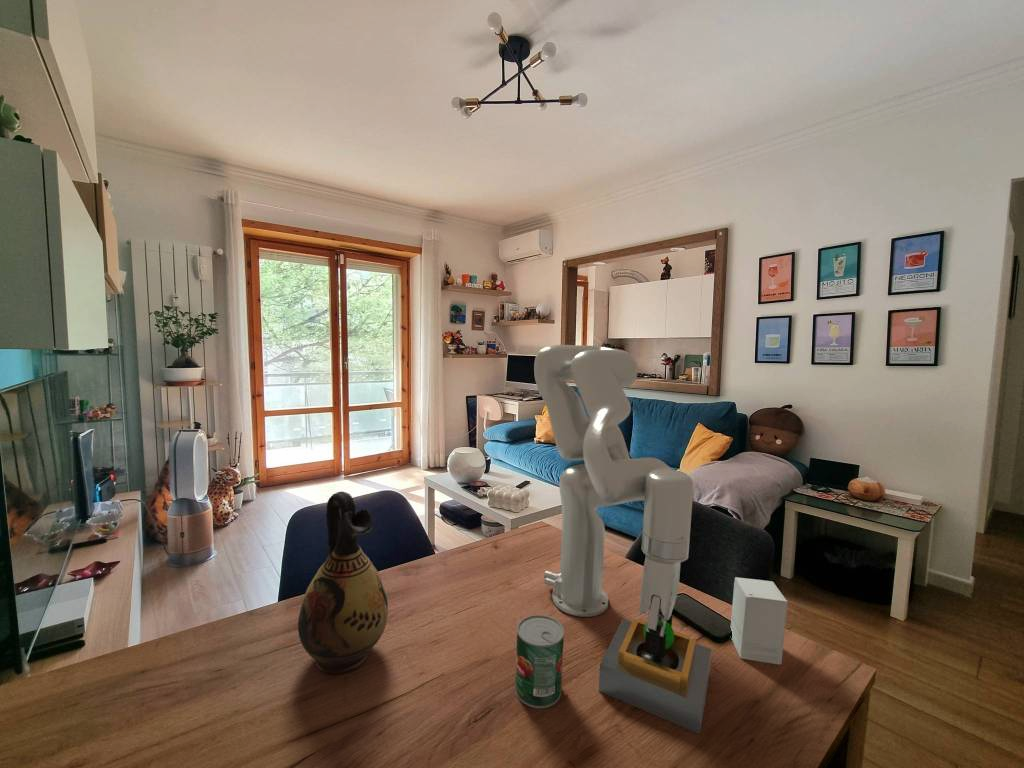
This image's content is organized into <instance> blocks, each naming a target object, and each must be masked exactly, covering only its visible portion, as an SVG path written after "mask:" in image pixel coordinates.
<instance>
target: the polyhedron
mask: <svg viewBox="0 0 1024 768" xmlns="http://www.w3.org/2000/svg"><path fill="white" fill-rule="evenodd" d="M661 622H662V620H658V625H660V627H661ZM672 627H673V626H672ZM672 627H671V625H670V624H669V623H668V622H666V624H665V633H664V634H666V646H665V649H668V648H670V646H671V645H672V643H673V641H674V631H675V630H674V629H673V628H672ZM646 628H647V623H646V624H645V626H644V636H646Z"/></svg>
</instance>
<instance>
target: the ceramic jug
mask: <svg viewBox="0 0 1024 768" xmlns="http://www.w3.org/2000/svg"><path fill="white" fill-rule="evenodd" d="M356 509H357V508H356V504H355V501H354V498H353V497H352V495H351V494H350V493H348V492H346V491H338V492H335V493H333V494H332V495H330V497H329V499H328V500H327V504H326V516H325V518H326V526H327V540H328V541H327V545H328V549H329V550H328V551H329V552H328V555H327V557H326V559H325V561H324V562H323V564H321V566H320V567H319V568H318V570H317V572H316V574H315V575H314V577H313V578H312V580H311V581H310V583H309V585H308V587H307V589H306V591H305V593H304V596H303V598H302V602H301V605H300V609H299V614H298V619H297V620H298V621H297V629H298V630H297V632H298V638H299V641H300V642H301V645H302V647H303V648H304V650H305V652H306V653H307V654H308V655H309V657H311V658H312V659H314V660H315V661H314V662H315V665H316V666H317V668H318V671H321V673H322V674H324V675H326V676H328V675H344V674H348V673H351V672H353V671H355V670H357V669H358V668H359V666H360V665H362V664H363V663H364V662H365V661H366V660H367V658H368V656H369V652H370V651H371V650H372V649H373V648H374V646H375V645H376V644H377V643H378V641H380V639H381V637H382V635H383V633H384V631H385V629H386V625H387V621H388V615H389V614H388V612H389V608H388V607H389V600H388V596H387V592H386V591H387V590H386V588H385V587H386V586H385V585H384V582H383V580H382V577H381V574H380V573H379V571H378V570H377V568H376V567H375V565H374V564H373V562H372V561H371V560H370V558H369V557H368V556H367V554H366V553H364V551H363V550H362V549H363V548H361V546H360V545H359V543H358V536H361V535H366V534H368V533H370V532H371V530H372V528H373V525H374V524H373V517H372V514H371V513H370V511H369V510H368V509H367V508H363V509H361V510H359V511H357V512H356Z"/></svg>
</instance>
